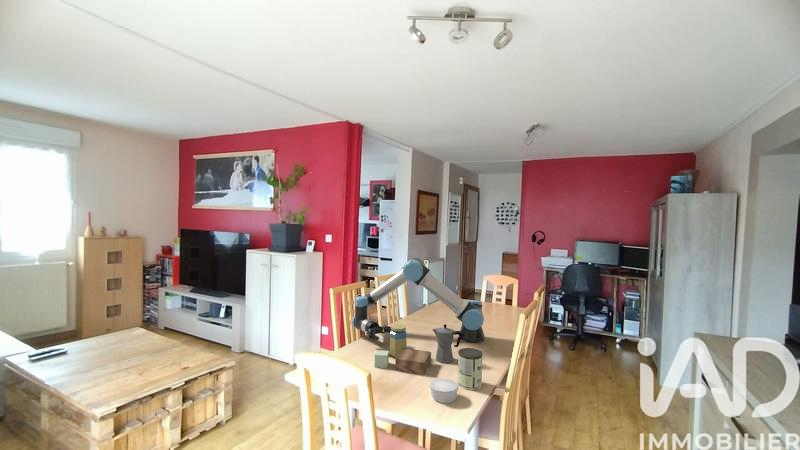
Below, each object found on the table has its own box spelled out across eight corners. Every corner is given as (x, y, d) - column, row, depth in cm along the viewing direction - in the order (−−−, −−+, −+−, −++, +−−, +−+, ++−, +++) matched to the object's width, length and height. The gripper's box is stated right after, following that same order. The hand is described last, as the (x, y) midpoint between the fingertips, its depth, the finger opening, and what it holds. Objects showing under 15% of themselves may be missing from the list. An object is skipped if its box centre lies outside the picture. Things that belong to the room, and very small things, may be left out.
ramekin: (426, 401, 135) (426, 388, 135) (433, 388, 145) (434, 376, 145) (454, 407, 131) (454, 393, 131) (460, 394, 141) (460, 381, 141)
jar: (393, 359, 175) (393, 329, 175) (386, 352, 183) (387, 324, 183) (409, 356, 178) (410, 328, 178) (402, 350, 187) (402, 323, 187)
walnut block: (430, 363, 171) (431, 351, 171) (424, 375, 158) (424, 362, 158) (403, 359, 175) (403, 348, 175) (395, 371, 162) (395, 358, 162)
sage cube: (388, 362, 171) (388, 350, 171) (386, 368, 165) (387, 355, 165) (376, 362, 171) (376, 350, 171) (374, 367, 165) (374, 354, 165)
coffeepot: (429, 361, 174) (429, 325, 173) (434, 354, 182) (435, 320, 182) (459, 366, 168) (460, 329, 168) (463, 359, 177) (464, 324, 177)
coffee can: (461, 377, 156) (461, 346, 156) (484, 382, 152) (484, 350, 152) (454, 387, 147) (455, 354, 147) (479, 392, 143) (479, 358, 142)
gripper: (387, 329, 208) (410, 339, 191) (351, 338, 192) (373, 349, 175) (387, 317, 208) (411, 325, 191) (351, 324, 192) (374, 334, 175)
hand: (393, 337), depth 183 cm, fingers open, 13 cm apart
